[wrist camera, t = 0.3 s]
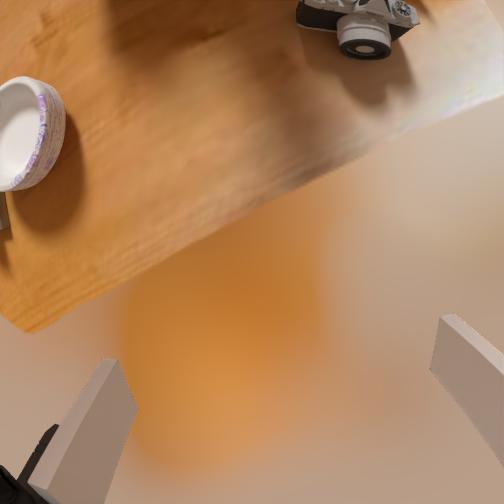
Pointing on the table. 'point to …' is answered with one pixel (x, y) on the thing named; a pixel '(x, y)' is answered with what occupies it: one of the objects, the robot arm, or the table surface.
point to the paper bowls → (29, 132)
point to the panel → (3, 212)
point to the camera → (359, 24)
